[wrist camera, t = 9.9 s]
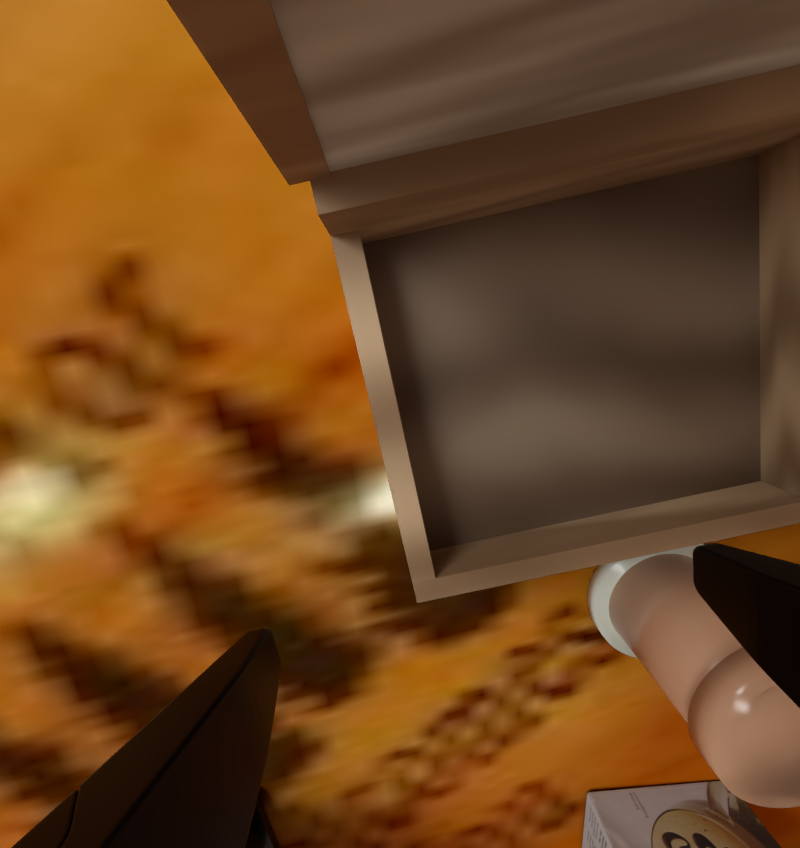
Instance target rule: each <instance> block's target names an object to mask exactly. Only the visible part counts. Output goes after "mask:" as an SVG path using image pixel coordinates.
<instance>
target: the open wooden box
mask: <svg viewBox="0 0 800 848" xmlns="http://www.w3.org/2000/svg"><path fill="white" fill-rule="evenodd" d="M167 1H168V3H169V4H170V6H171V7H172V9H173V11H174V12H175V14H176V15H177V17H178V18H179V20H180V21H181V23H182V24H183V26H184V27H185V29H186V30H187V32H188V33H189V35H190V36H191V38H192V39H193V41H194V42H195V44H196V45H197V47H198V48H199V50H200V51H201V53H202V54H203V56H204V57H205V59H206V60H207V62H208V63H209V65H210V66H211V68H212V69H213V71H214V72H215V74H216V75H217V77H218V78H219V80H220V81H221V83H222V84H223V86H224V87H225V89H226V90H227V92H228V94H229V95H230V97H231V98H232V100H233V101H234V103H235V104H236V106H237V107H238V109H239V110H240V112H241V113H242V115H243V116H244V118H245V119H246V121H247V122H248V124H249V125H250V127H251V128H252V130H253V131H254V133H255V134H256V136H257V137H258V139H259V140H260V142H261V143H262V145H263V146H264V148H265V149H266V151H267V152H268V154H269V155H270V157H271V158H272V160H273V161H274V163H275V164H276V166H277V167H278V169H279V170H280V172H281V174H282V175H283V177H284V178H285V180H286V181H287V183H288V184H289V185H293V184H297V183H302V182H306V181H310V182H311V186H312V190H313V195H314V199H315V203H316V207H317V211H318V215H319V217H320V219H321V220H322V222H323V224H324V225H325V227H326V229H327V231H328V232H329V234H330V236H331V240H332V244H333V248H334V252H335V256H336V261H337V265H338V269H339V273H340V278H341V282H342V286H343V290H344V295H345V299H346V303H347V307H348V312H349V316H350V320H351V324H352V329H353V333H354V337H355V341H356V345H357V350H358V354H359V358H360V362H361V367H362V371H363V375H364V379H365V384H366V388H367V392H368V396H369V401H370V405H371V409H372V413H373V417H374V422H375V426H376V430H377V434H378V439H379V443H380V447H381V451H382V456H383V460H384V464H385V468H386V473H387V477H388V481H389V485H390V490H391V494H392V498H393V502H394V506H395V511H396V515H397V519H398V523H399V528H400V532H401V536H402V540H403V545H404V549H405V553H406V557H407V562H408V566H409V570H410V574H411V578H412V583H413V587H414V591H415V595H416V600H417V603H420V602H425V601H429V600H434V599H439V598H444V597H449V596H453V595H458V594H463V593H468V592H473V591H477V590H482V589H487V588H492V587H497V586H501V585H506V584H511V583H516V582H521V581H525V580H530V579H535V578H540V577H545V576H549V575H554V574H559V573H564V572H569V571H573V570H578V569H583V568H588V567H593V566H597V565H602V564H607V563H612V562H617V561H621V560H626V559H631V558H636V557H641V556H645V555H650V554H655V553H660V552H665V551H669V550H674V549H679V548H684V547H688V546H693V545H698V544H703V543H708V542H712V541H717V540H722V539H727V538H732V537H736V536H741V535H746V534H751V533H756V532H760V531H765V530H770V529H775V528H780V527H784V526H789V525H794V524H799V523H800V0H167Z"/></svg>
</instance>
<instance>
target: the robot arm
mask: <svg viewBox="0 0 800 848" xmlns="http://www.w3.org/2000/svg"><path fill="white" fill-rule="evenodd" d="M693 581H694V585H695V588H696V590H697V592H698V593H699V595H700V596H701V597H702V598H703V600H704V601H705V602H706V603H707V604H708V606H709V607H710V608H711V609H712V611H713V612H714V613H715V614H716V615H717V617H718V618H719V619H720V620H721V621H722V623H723V624H724V625H725V626H726V627H727V629H728V630H729V631H730V632H731V634H732V635H733V636H734V637H735V638H736V640H737V641H738V642H739V643H740V644H741V646H742V647H743V648H744V649H745V651H746V652H747V653H748V654H749V655H750V656H751V657H752V659H753V660H754V661H755V662H756V663H757V664H758V665H759V667H760V668H761V669H762V670H763V671H764V672H765V673H766V674H767V675H768V676H769V677H770V678H771V679H772V680H773V681H774V682H775V683H776V684H777V685H778V687H779V688H780V689H781V690H782V691H783V692H784V693H785V694H786V695H787V696H788V697H789V698H790V699H791V700H792V701H793V702H794V703H795V704H796V705H797V706H798V707H799V708H800V565H799V564H795V563H791V562H788V561H784V560H780V559H776V558H772V557H768V556H764V555H761V554H757V553H753V552H749V551H745V550H741V549H737V548H734V547H730V546H726V545H722V544H718V543H712V544H706V545H701V546H697V547H696V548H694V550H693ZM280 673H281V661H280V657H279V653H278V650H277V647H276V643H275V640H274V637H273V633H272V631H271V629H270V628H268V627H263V628H258V629H253V630H250V631H248V632H247V633H246V634H245V635H243V636H242V637H241V638H240V639H239V640H238V641H237V642H236V643H235V644H234V645H233V646H231V647H230V648H229V649H228V650H227V651H226V652H225V653H224V654H223V655H222V656H221V657H219V658H218V659H217V660H216V661H215V662H214V663H213V664H212V665H211V666H210V667H209V668H208V669H206V670H205V671H204V672H203V673H202V674H201V675H200V676H199V677H198V678H197V679H196V680H194V681H193V682H192V683H191V684H190V685H189V686H188V687H187V688H186V689H185V690H184V691H182V692H181V693H180V694H179V695H178V696H177V697H176V698H175V699H174V700H173V701H172V702H170V703H169V704H168V705H167V706H166V707H165V708H164V709H163V710H162V711H161V712H160V713H158V714H157V715H156V716H155V717H154V718H153V719H152V720H151V721H150V722H149V723H148V724H146V725H145V726H144V727H143V728H142V729H141V730H140V731H139V732H138V733H137V734H136V735H134V736H133V737H132V738H131V739H130V740H129V741H128V742H127V743H126V744H125V745H124V746H122V747H121V748H120V749H119V750H118V751H117V752H116V753H115V754H114V755H113V756H112V757H110V758H109V759H108V760H107V761H106V762H105V763H104V764H103V765H102V766H101V767H100V768H99V769H97V770H96V771H95V772H94V773H93V774H92V775H91V776H90V777H89V778H88V779H87V780H85V781H84V782H83V783H82V784H81V785H80V787H79V790H75V791H73V792H72V793H71V794H70V795H69V796H68V797H67V798H66V799H65V800H64V801H62V802H61V803H60V804H59V805H58V806H57V807H56V808H55V809H54V810H53V811H52V812H51V813H49V814H48V815H47V816H46V817H45V818H44V819H43V820H42V821H41V822H39V823H38V824H37V825H36V826H35V827H34V828H33V829H32V830H30V831H29V832H28V833H27V834H26V835H25V836H24V837H23V838H22V839H20V840H19V841H18V842H17V843H16V844H15V845H14V846H13V847H12V848H279V847H278V845H277V842H276V840H275V837H274V835H273V832H272V829H271V827H270V824H269V822H268V819H267V817H266V814H265V812H264V809H263V807H262V804H261V801H260V799H259V796H258V794H259V790H260V786H261V782H262V777H263V773H264V769H265V765H266V761H267V756H268V751H269V745H270V739H271V733H272V726H273V720H274V713H275V706H276V700H277V693H278V686H279V680H280Z"/></svg>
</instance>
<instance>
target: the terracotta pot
mask: <svg viewBox="0 0 800 848" xmlns="http://www.w3.org/2000/svg"><path fill="white" fill-rule="evenodd" d="M609 616H610V620H611V623H612V625H613V627H614V628H615V630H616V631H617V632H618V634H619V635H620V636H621V638H622V639H623V640H624V641H625V643H626V644H627V645H628V647H629V648H630V649H631V651H632V652H633V653H634V654H635V656H636V657H637V658H638V660H639V661H640V662H641V663H642V665H643V666H644V667H645V669H646V670H647V671H648V673H649V674H650V675H651V676H652V678H653V679H654V680H655V682H656V683H657V684H658V686H659V687H660V688H661V689H662V691H663V692H664V693H665V695H666V696H667V697H668V699H669V700H670V701H671V702H672V704H673V705H674V706H675V708H676V709H677V710H678V711H679V713H680V714H681V715H682V717H683V718H684V719H685V721H686V722H687V723H688V730H689V734H690V737H691V740H692V741H693V743H694V745H695V747H696V748H697V750H698V751H699V752H700V754H701V755H702V756H703V758H704V759H705V760H706V762H707V763H708V764H709V766H710V767H711V768H712V770H713V771H714V772H715V774H716V775H717V776H718V778H719V779H720V780H721V782H722V783H723V784H724V786H725V787H726V788H727V789H728V790H729V791H730V792H731V793H732V794H734V795H735V796H737V797H738V798H740V799H741V800H744V801H746V802H748V803H751V804H754V805H758V806H762V807H768V808H791V807H798V806H800V708H799V707H798V706H797V705H796V704H795V703H794V702H793V701H792V700H791V699H790V698H789V697H788V696H787V695H786V694H785V693H784V692H783V691H782V690H781V689H780V688H779V687H778V685H777V684H776V683H775V682H774V681H773V680H772V679H771V678H770V677H769V676H768V675H767V674H766V673H765V672H764V671H763V670H762V669H761V668H760V667H759V665H758V664H757V663H756V662H755V661H754V660H753V659H752V657H751V656H750V655H749V654H748V653H747V652H746V651H745V649H744V648H743V647H742V646H741V644H740V643H739V642H738V641H737V640H736V638H735V637H734V636H733V635H732V634H731V632H730V631H729V630H728V629H727V627H726V626H725V625H724V624H723V623H722V621H721V620H720V619H719V618H718V617H717V615H716V614H715V613H714V612H713V611H712V609H711V608H710V607H709V606H708V604H707V603H706V602H705V601H704V600H703V598H702V597H701V596H700V595H699V593H698V592H697V590H696V588H695V585H694V581H693V558H690V557H688V556H684V555H680V554H661V555H656V556H652V557H649V558H647V559H644V560H642V561H640V562H638V563H637V564H635V565H634V566H632V567H631V568H630V569H629V570H627V571H626V572H625V573H624V574H623V575H622V576H621V578H620V579H619V580H618V582H617V583H616V585H615V587H614V588H613V591H612V593H611V596H610V600H609Z"/></svg>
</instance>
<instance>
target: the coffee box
mask: <svg viewBox="0 0 800 848" xmlns="http://www.w3.org/2000/svg"><path fill="white" fill-rule="evenodd" d="M582 848H781V847H780V845H779V844H778V843H777V842H776V840H775V839H774V838H773V837H772V835H771V834H770V833H769V831H768V830H767V829H766V827H765V826H764V825H763V823H762V822H761V821H760V820H759V818H758V817H757V816H756V815H755V813H754V812H753V811H752V810H751V808H750V807H749V806H748V804H747V803H746V802H745V801H744V800H741V799H740V798H738V797H737V796H735V795H734V794H732V793H731V792H730V791H729V790H728V789H727V788H726V787H725V786H724V784H723V783H722V782H721V780H719V781H709V782H698V783H686V784H675V785H663V786H652V787H640V788H629V789H618V790H608V791H595V792H588V793H587V800H586V809H585V820H584V831H583V842H582Z"/></svg>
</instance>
